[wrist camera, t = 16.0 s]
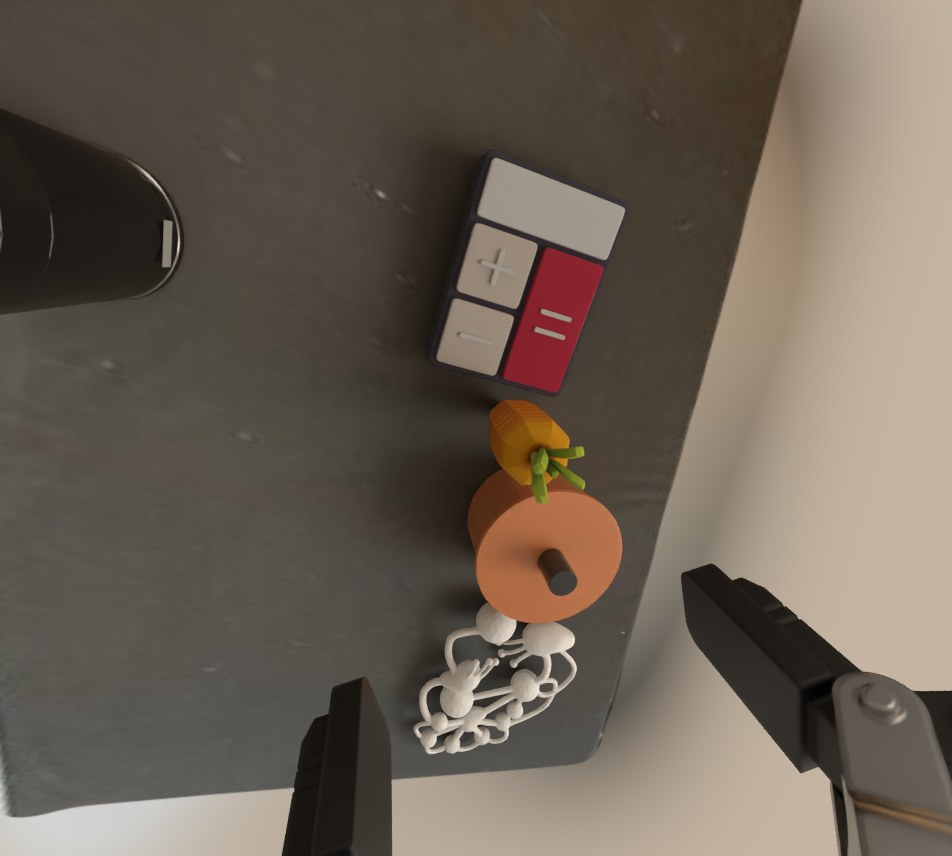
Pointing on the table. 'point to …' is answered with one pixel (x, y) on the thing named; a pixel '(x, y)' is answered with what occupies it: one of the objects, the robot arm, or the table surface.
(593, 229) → the calculator
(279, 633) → the table surface
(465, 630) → the tangled rod sculpture
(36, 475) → the table surface
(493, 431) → the carrot
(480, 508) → the pot
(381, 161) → the table surface
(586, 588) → the pot lid
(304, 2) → the table surface
